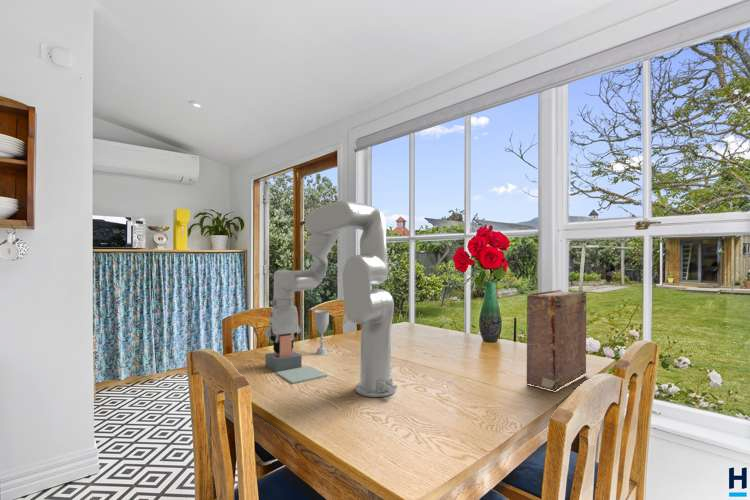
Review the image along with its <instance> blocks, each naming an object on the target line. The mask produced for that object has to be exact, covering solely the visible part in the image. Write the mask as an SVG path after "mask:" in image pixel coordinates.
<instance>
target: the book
mask: <svg viewBox="0 0 750 500" xmlns="http://www.w3.org/2000/svg"><path fill="white" fill-rule="evenodd" d="M585 373H586V374H587V291H582V292H573V291H572V292H571V291H562V290H561V289H554V290H547V291H542V292H536V293H535V292H534V293H528V294H526V385H527V384H531V385H534V386H539V387H542V388H546V389H550V390H553V391H556V390H557V389H559V388H560V387H562V386H564V385H565V384H567V383H569V382H571V381H573V380H575V379H576V378H578V377H580V376H581V375H583V374H585Z"/></svg>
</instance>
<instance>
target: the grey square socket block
mask: <svg viewBox="0 0 750 500" xmlns="http://www.w3.org/2000/svg"><path fill="white" fill-rule="evenodd" d="M302 359H303V358H302V355H301V354H299V353H297V352H295V351H294V350H292V355H291V356H285V357H278V356H276V355H275V352H269V353H265V361H264V363H265V365H264V366H265V367H266V368H268V369H269V370H271V371H273V372H275V373H276V372H280V371H285V370H290V369H295V368H301V367H302Z"/></svg>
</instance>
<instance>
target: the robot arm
mask: <svg viewBox="0 0 750 500" xmlns="http://www.w3.org/2000/svg"><path fill="white" fill-rule="evenodd" d="M304 221H305V222H304V226H305V229H306V231H307V232H308V233H310V235H309V238H308V240H307V241H306V243H305V249H306V251H307V252H308V253H309V254H310V256H312V257H313V258H314V259H313V261H312V263H311V265H310V267H309V268H308V269H299V270H298V269H297V270H289V269H288V270H287V269H283V270H282V269H281V270H279V269H278V270H276V271H274V273H273V299H272V300H270V302H269V304H270V305H272V306H271V310H270V313H269V314H270V315H269V322H268V323H269V324H268V326H269V327H268V328H267V330H266V331H265V333H264V336H266V337H267V338H269V339H270V340H271V341H272V342H273V353H275V352H276V353H277V354H278V353H279V342H278V340H279V336H280V335H282V334H290V335H292V349H294V341H295V339H296V337H297V336H298V334H300V333H301V332H302V328H301V326H300V325H299V316H298V314H299V313H298V310H297V306H296V305H295V292H300V291H308V290H309V291H310V290H314V289H315V288H317V287H318V286H319V285H320V283H321V282H322V280H323V279H324V277H325V276H326V273H327V271H328V263H329V262H328V255H329V253H330V251H331V250H332V248H333V246H334V245H335V243H336V241H337V240H338V238H339V236H340V235H341V233H342V232H343V230H344V229H350V230H361V231H362V233H361V235H360V239H359V254H356V255H353V256H351V257H349V258H348V259H347V260H346V262H345V264H344V266H343V270H342V285H343V286H342V288H343V306H344V312H345V315H346V317H347V318H348V320H349V321H350V322H352V323H353V324H355V325H361V324H362V327H361V331H360V381H359V382H358V383H357V384H356V385H355V392H356V393H357V394H358V395H361V396H364V397H371V398H385V397H389V396H391V395H392V394H394V393H396V390H397V388H398V386H397V385H396V384H394V383H393V377H391V376H392V373H391V371H392V367H391V365H392V326H393V325H392V323H393V319H394V318H393V317H394V311H395V301H394V298H393V296H392V295H391V294H390V293H389V292H388V291H387V290H384V289H381V288H373V289H372V288H371V287H372V286H376V285H377V286H378V285H381V284H382V283H384V282H385V281H386V280H387V279H388V274H389V266H388V265H389V264H388V246H387V221H386V217H385V215H384V214H383V212H382V211H381V210H380V209H378V208H377V207H375V206H373V205H369V204H365V203H361V202H354V201H349V200H338V201H335V202H331V203H327V204H323V205H322V206H319V207H316V208H313V209H312V210H310V212H308V214H307V215H306V217H305V220H304ZM272 334H273V335H272Z"/></svg>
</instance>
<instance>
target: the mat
mask: <svg viewBox="0 0 750 500" xmlns="http://www.w3.org/2000/svg"><path fill="white" fill-rule="evenodd" d="M275 373H276V375H277V376H279V377H281V378H282V379H284V380H285V381H287V382H288V383H289V384H291V385H295V384H299V383H304V382H308V381H313V380H317V379H321V378H326V377H328V374H326V373H324V372H322V371H321V370H319V369H316V368H315V367H314V366H310V365H306V366H303V367H302V366H301V368H295V369H290V370H285V371H280V372H275Z"/></svg>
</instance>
